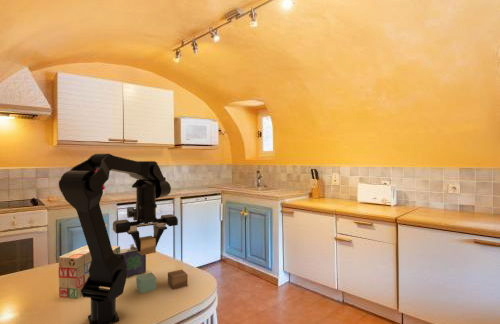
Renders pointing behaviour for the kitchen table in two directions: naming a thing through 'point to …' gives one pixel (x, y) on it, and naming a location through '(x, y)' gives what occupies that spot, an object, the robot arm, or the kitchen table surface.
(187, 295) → the kitchen table surface
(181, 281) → the walnut block
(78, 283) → the stack of blocks
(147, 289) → the tower base
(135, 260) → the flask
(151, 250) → the oak cube
